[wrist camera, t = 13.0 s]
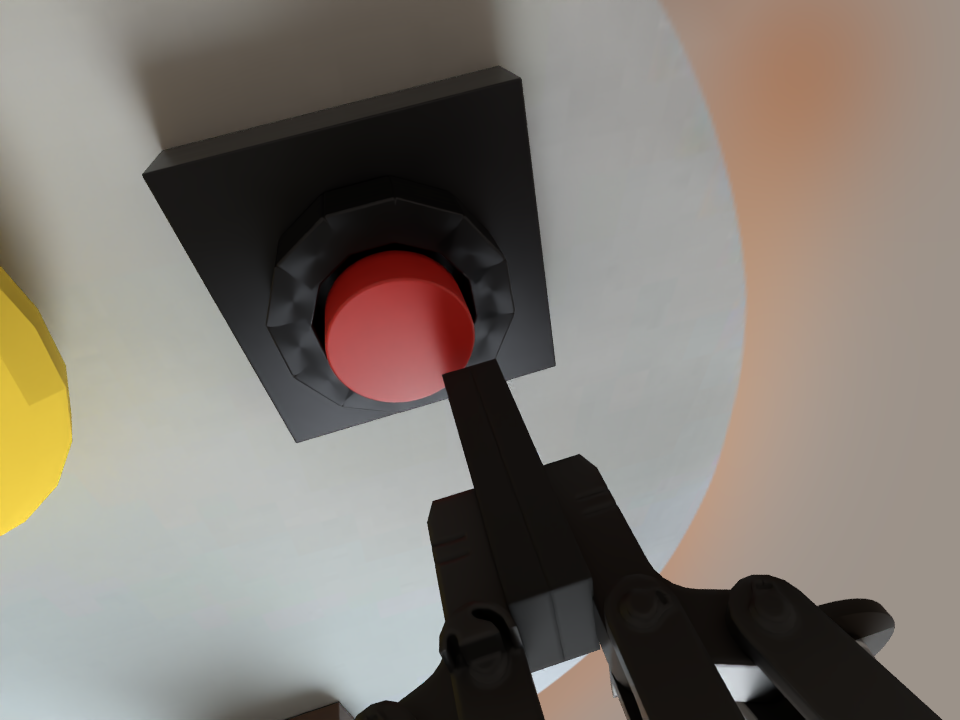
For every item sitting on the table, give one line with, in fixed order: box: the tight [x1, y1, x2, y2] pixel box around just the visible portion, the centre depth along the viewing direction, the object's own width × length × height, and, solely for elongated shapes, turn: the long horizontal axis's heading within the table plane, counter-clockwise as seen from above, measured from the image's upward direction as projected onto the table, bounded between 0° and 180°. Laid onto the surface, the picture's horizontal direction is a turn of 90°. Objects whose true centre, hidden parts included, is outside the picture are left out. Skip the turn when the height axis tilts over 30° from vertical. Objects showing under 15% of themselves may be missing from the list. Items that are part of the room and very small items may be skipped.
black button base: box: [142, 66, 556, 443], centre depth 17 cm, size 10×10×4 cm
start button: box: [325, 250, 475, 403], centre depth 15 cm, size 4×4×2 cm
